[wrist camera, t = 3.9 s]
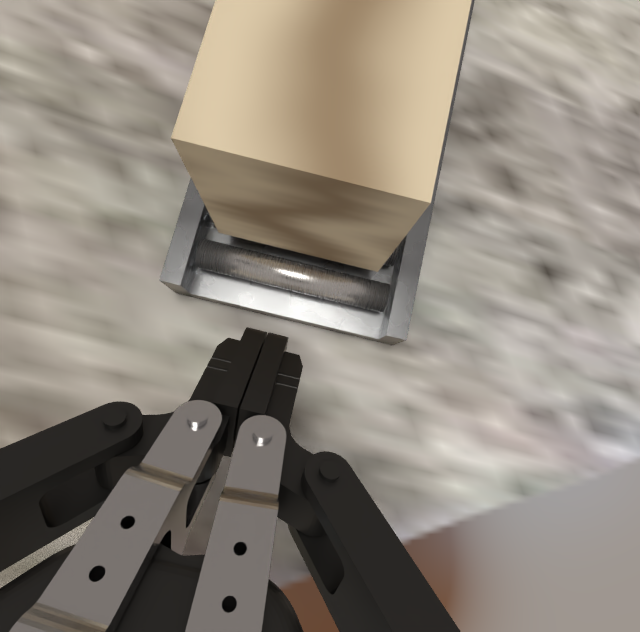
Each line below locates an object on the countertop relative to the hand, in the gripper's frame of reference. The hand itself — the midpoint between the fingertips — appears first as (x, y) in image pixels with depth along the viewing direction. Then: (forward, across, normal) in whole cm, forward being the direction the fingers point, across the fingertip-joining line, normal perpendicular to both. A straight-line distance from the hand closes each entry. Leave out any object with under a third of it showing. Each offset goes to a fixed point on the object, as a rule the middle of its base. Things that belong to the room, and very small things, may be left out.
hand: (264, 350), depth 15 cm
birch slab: (+11, 0, -4) cm, 11 cm away
